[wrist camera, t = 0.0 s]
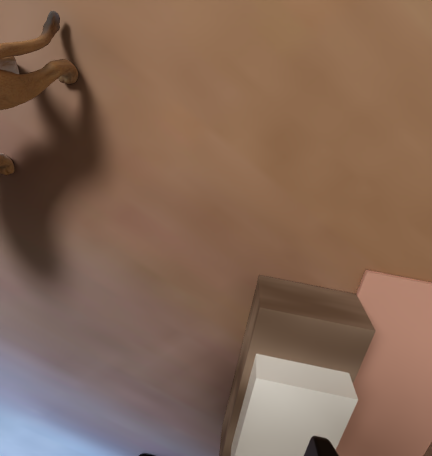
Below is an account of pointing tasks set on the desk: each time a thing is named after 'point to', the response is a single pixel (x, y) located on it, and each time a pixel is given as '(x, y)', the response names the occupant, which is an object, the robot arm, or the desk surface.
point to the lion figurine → (29, 74)
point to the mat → (393, 371)
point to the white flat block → (291, 408)
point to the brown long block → (298, 336)
